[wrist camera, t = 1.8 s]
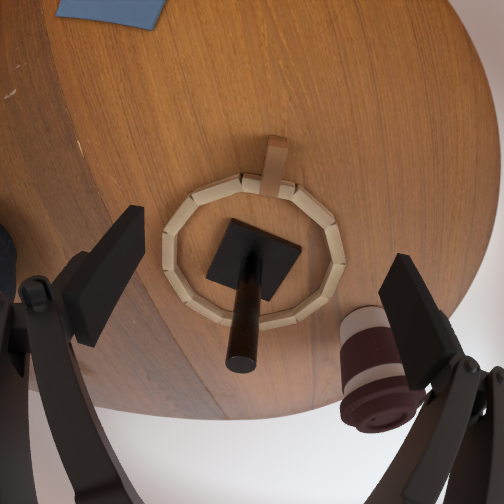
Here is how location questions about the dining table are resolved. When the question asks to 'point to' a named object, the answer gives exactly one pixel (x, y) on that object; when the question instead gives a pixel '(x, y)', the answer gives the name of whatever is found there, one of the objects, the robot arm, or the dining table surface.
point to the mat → (114, 11)
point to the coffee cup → (373, 374)
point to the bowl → (7, 265)
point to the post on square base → (249, 284)
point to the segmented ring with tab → (265, 186)
